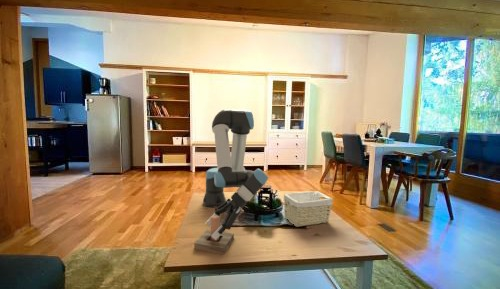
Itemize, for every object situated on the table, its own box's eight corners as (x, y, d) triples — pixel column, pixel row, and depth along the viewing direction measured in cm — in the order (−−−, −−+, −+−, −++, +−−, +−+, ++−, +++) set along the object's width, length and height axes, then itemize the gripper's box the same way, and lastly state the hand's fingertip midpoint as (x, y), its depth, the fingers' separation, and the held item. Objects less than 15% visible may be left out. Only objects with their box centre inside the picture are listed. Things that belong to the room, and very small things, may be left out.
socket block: (207, 235, 130) (207, 229, 130) (233, 239, 127) (233, 233, 127) (194, 249, 117) (194, 243, 116) (223, 254, 114) (223, 248, 113)
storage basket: (315, 212, 163) (317, 189, 161) (332, 223, 148) (334, 198, 146) (281, 217, 155) (282, 193, 153) (295, 229, 140) (297, 202, 138)
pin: (212, 241, 124) (212, 215, 123) (220, 242, 123) (220, 216, 122) (209, 245, 121) (209, 218, 119) (217, 246, 120) (217, 219, 118)
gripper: (256, 211, 113) (222, 249, 110) (238, 193, 136) (210, 224, 133) (245, 200, 111) (210, 239, 107) (229, 184, 134) (199, 215, 130)
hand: (210, 231), depth 120 cm, fingers open, 13 cm apart
